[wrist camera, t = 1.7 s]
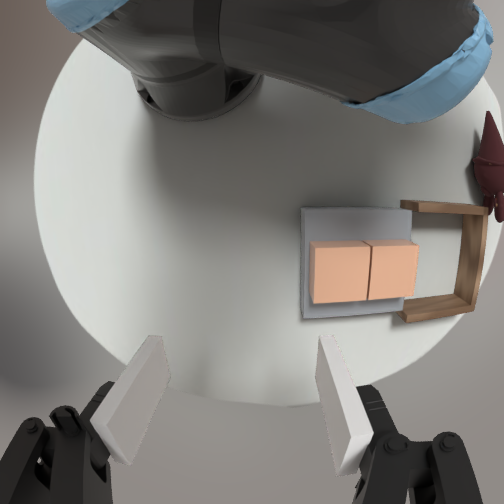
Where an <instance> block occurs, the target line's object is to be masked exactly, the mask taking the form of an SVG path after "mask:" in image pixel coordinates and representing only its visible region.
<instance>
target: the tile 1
mask: <svg viewBox="0 0 504 504" xmlns="http://www.w3.org/2000/svg"><path fill="white" fill-rule="evenodd" d="M369 264H370V246H369V245H367V244H365V243H364V242H362V241H360V240H345V241H310V266H309V293H310V296H311V298H312V300H313V303H314V304H315V303H332V302H348V301H362V300H366V297H367V287H368V276H369Z"/></svg>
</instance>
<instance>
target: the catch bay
mask: <svg viewBox="0 0 504 504" xmlns="http://www.w3.org/2000/svg"><path fill="white" fill-rule="evenodd" d="M400 208H403V209H407V210H412V211H417V212H434V213H456V214H463V227H462V239H461V249H460V258H459V265H458V272H457V278H456V284H455V290H454V294H448V295H440V296H433V297H425V298H416V299H407V300H404V303H403V310H401V311H395V312H396V313H397V314H398V315H399V316H400V317H401V318H402V319H403V320H404V321H405V322H406V323H410V322H417V321H423V320H429V319H435V318H441V317H447V316H452V315H457V314H462V313H467V312H472V311H474V308H475V304H476V300H477V295H478V290H479V285H480V280H481V274H482V268H483V262H484V254H485V246H486V237H487V225H488V207H482V206H477V205H471V204H461V203H448V202H433V201H415V200H401V205H400Z"/></svg>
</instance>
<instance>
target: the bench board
mask: <svg viewBox="0 0 504 504" xmlns="http://www.w3.org/2000/svg"><path fill="white" fill-rule="evenodd" d="M411 228H412V210H407V209H403V208H375V207H301V303H300V308H301V311H302V315H303V319H305V318H323V317H338V316H351V315H363V314H373V313H383V312H392V311H401V310H403V303H404V297H396V298H386V299H374V300H368V299H367V298H366V300H362V301H348V302H332V303H315V304H314V303H313V300H312V298H311V296H310V293H309V266H310V241H345V240H360V241H362V240H395V239H406V240H408V241H410V242H411Z"/></svg>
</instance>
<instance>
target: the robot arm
mask: <svg viewBox="0 0 504 504" xmlns="http://www.w3.org/2000/svg"><path fill="white" fill-rule="evenodd" d="M473 2H474V0H46V4H47V7H48V10H49V11H50V12H51V13H52V14H53V15H54V16H55V17H56V18H57V19H58V20H59V21H60V22H61V23H62V24H63V25H65V26H66V28H67V29H68V30H69V31H70V32H72V33H77V34H78V35H80V36H82V37H83V38H84V39H86V40H87V41H89V42H90V43H92V44H93V45H95V46H96V47H97V48H99V49H100V50H102V51H103V52H105V53H106V54H107V55H109V56H110V57H112V58H113V59H114V60H116V61H117V62H118V63H120V64H121V65H123V66H124V67H125V68H127V69H128V70H129V71H131V74H132V77H133V81H134V84H135V87H136V89H137V92H138V93H139V95H140V97H141V98H142V99H143V100H144V102H145V103H146V104H147V105H149V106H150V107H151V108H153V109H154V110H156V111H157V112H159V113H160V114H162V115H164V116H166V117H169V118H172V119H175V120H181V121H200V120H205V119H210V118H213V117H216V116H219V115H221V114H224V113H226V112H228V111H229V110H231V109H233V108H234V107H236V106H237V105H239V104H240V103H241V102H242V101H243V100H244V99H245V98H246V97H247V96H248V95H249V94H250V93H251V92H252V90H253V89H254V87H255V86H256V84H257V82H258V80H259V78H260V75H261V74H262V75H266V76H270V77H273V78H277V79H280V80H283V81H286V82H290V83H293V84H296V85H299V86H302V87H305V88H308V89H310V90H313V91H316V92H319V93H321V94H324V95H327V96H329V97H332V98H334V99H337V100H339V101H340V102H341V103H342V104H343V105H345V106H348V107H350V108H355V109H364V110H366V111H369V112H371V113H373V114H376V115H378V116H380V117H383V118H385V119H387V120H390V121H392V122H396V123H401V124H409V123H414V122H416V123H417V122H426V121H429V120H432V119H434V118H436V117H438V116H440V115H442V114H444V113H446V112H447V111H449V110H450V109H452V108H453V107H455V106H456V105H457V104H458V103H460V102H461V101H462V100H463V99H464V98H465V97H466V96H467V95H468V94H469V93H470V92H471V91H472V90H473V89H474V87H475V86H476V85H477V84H478V82H479V81H480V79H481V78H482V76H483V74H484V73H485V71H486V69H487V66H488V64H489V61H490V59H491V55H492V50H491V48H490V47H489V45H490V44H491V43H492V42H493V31H492V27H491V25H490V23H489V21H488V20H487V18H486V17H485V15H484V13H483V11H481V9H480V8H479V7H478V6H477V5H475V4H474V3H473ZM170 378H171V375H170V371H169V367H168V363H167V358H166V354H165V349H164V345H163V340H162V336H150V335H149V336H148V337H147V338H146V340H145V341H144V343H143V344H142V345H141V347H140V348H139V350H138V351H137V352H136V354H135V355H134V357H133V358H132V359H131V361H130V362H129V364H128V365H127V366H126V368H125V369H124V371H123V372H122V374H121V375H120V377H119V378H118V379H117V381H116V382H111V381H108V382H107V383H105V384H104V385H102V386H101V387H100V388H99V390H98V391H97V392H96V394H95V395H94V396H93V398H92V399H91V401H90V402H89V403H88V405H87V406H86V407H85V409H84V410H83V412H82V413H81V414H80V416H79V414H78V412H77V411H76V409H75V408H73V407H71V406H66V405H65V406H60V407H58V408H55V409H54V410H53V411H52V412H51V414H50V416H49V417H50V418H51V420H52V422H53V423H54V425H55V427H46V426H45V424H44V423H43V421H42V420H41V419H39V418H36V417H32V418H28V419H26V420H25V421H24V422H23V423H22V424H21V425H20V427H19V429H18V431H17V432H16V434H15V436H14V437H13V439H12V441H11V442H10V444H9V446H8V448H7V449H6V451H5V453H4V455H3V457H2V459H1V460H0V504H113V500H112V489H111V473H110V464H109V462H108V461H107V460H108V458H109V456H110V455H111V456H112V458H113V459H114V461H115V462H118V463H122V464H125V465H129V466H131V465H132V462H133V460H134V458H135V456H136V453H137V451H138V449H139V446H140V444H141V442H142V440H143V437H144V435H145V433H146V431H147V428H148V426H149V424H150V422H151V419H152V417H153V415H154V413H155V411H156V408H157V406H158V404H159V402H160V399H161V397H162V395H163V393H164V390H165V389H166V386H167V384H168V382H169V380H170ZM315 379H316V383H317V388H318V392H319V396H320V400H321V405H322V409H323V414H324V418H325V423H326V427H327V432H328V436H329V441H330V445H331V451H332V455H333V460H334V465H335V470H336V475H337V476H344V475H349V474H354V473H356V472H357V470H358V468H359V467H360V471H361V474H362V476H361V478H360V479H359V481H358V483H357V485H356V487H355V488H357V489H356V493H355V496H354V499H353V502H352V504H405V502H406V496H407V489H408V491H409V498H410V504H483V502H482V499H481V495H480V491H479V487H478V484H477V481H476V478H475V474H474V471H473V468H472V466H471V463H470V460H469V457H468V454H467V451H466V448H465V446H464V443H463V441H462V439H461V438H460V436H458V435H457V434H456V433H453V432H442V433H440V434H438V435H437V436H436V437H435V438H434V439H433V441H425V442H414V441H410V440H409V439H408V438H407V437H406V436H404V435H402V434H399V433H398V431H397V429H396V427H395V425H394V422H393V420H392V418H391V416H390V414H389V412H388V410H387V408H386V405H385V403H384V401H382V400H383V399H382V397H381V395H380V393H379V391H378V390H376V389H375V388H374V387H373V386H372V385H364V386H358V387H356V386H355V384H354V382H353V379H352V377H351V374H350V372H349V369H348V367H347V365H346V362H345V360H344V357H343V355H342V353H341V350H340V348H339V346H338V343H337V341H336V339H335V336H334V335H323V336H319V342H318V354H317V365H316V375H315ZM39 457H40V459H41V462H40V463H38V462H37V461H38V459H39Z"/></svg>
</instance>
